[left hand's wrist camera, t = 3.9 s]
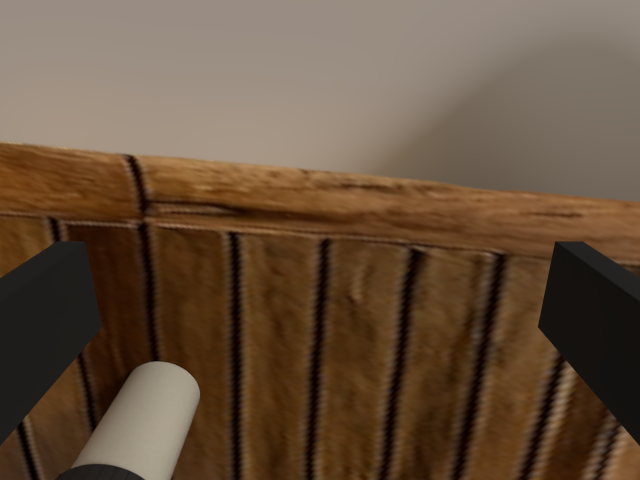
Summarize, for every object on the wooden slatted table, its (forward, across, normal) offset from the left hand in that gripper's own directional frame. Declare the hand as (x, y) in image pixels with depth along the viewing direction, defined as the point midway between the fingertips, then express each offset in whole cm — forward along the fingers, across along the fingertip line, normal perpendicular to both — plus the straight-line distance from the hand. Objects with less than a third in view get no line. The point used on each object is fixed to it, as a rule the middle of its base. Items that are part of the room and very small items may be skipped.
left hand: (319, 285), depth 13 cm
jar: (+28, +17, +27) cm, 43 cm away
